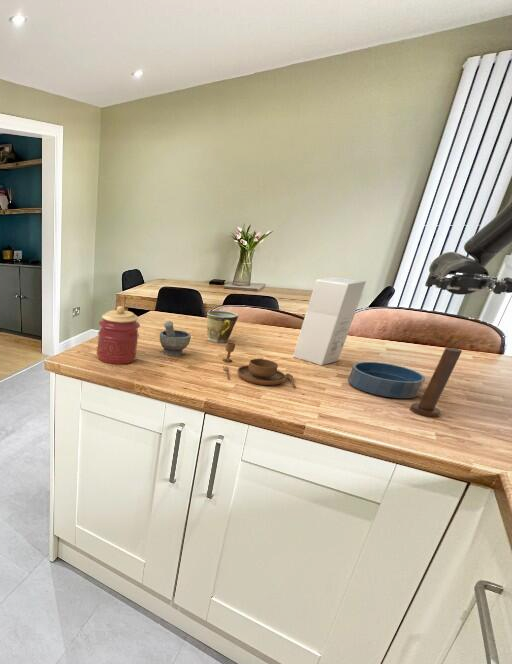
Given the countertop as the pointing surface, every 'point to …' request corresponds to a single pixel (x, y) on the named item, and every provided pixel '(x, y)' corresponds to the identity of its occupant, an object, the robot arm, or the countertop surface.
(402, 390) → the bowl
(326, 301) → the tall white carton
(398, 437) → the countertop surface
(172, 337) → the mortar and pestle
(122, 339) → the kitchen canister
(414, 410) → the brown post with base
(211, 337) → the ceramic cup
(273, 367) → the place setting
